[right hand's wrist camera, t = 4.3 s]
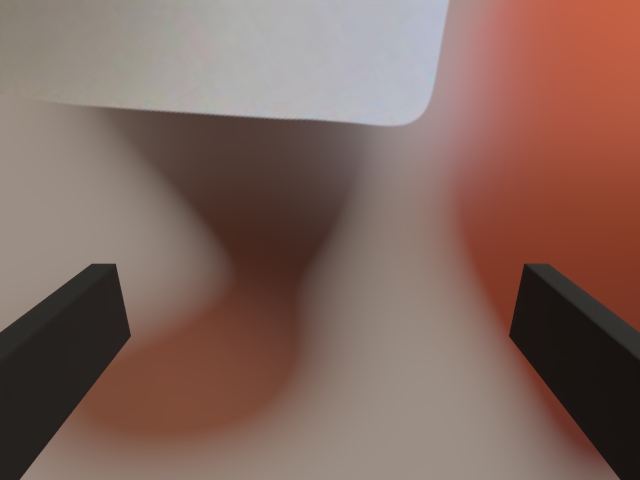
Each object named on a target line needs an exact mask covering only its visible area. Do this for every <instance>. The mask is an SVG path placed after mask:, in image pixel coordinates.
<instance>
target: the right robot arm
mask: <svg viewBox="0 0 640 480" xmlns="http://www.w3.org/2000/svg"><path fill="white" fill-rule="evenodd" d="M130 337H131V334H130V329H129V325H128V320H127V315H126V310H125V306H124V301H123V296H122V291H121V287H120V282H119V277H118V272H117V268H116V264H91V265H90V266H88V267H87V268H86V269H84V270H83V271H82V272H80V273H79V274H78V275H76V276H75V277H74V278H72V279H71V280H70V281H68V282H67V283H66V284H64V285H63V286H62V287H60V288H59V289H58V290H56V291H55V292H54V293H52V294H51V295H50V296H48V297H47V298H46V299H44V300H43V301H42V302H40V303H39V304H38V305H36V306H35V307H34V308H32V309H31V310H30V311H28V312H27V313H26V314H24V315H23V316H22V317H20V318H19V319H18V320H16V321H15V322H14V323H12V324H11V325H10V326H8V327H7V328H6V329H4V330H3V331H2V332H0V480H20V478H21V477H22V476H23V474H24V473H25V472H26V471H27V469H28V468H29V467H30V466H31V464H32V463H33V462H34V460H35V459H36V458H37V456H38V455H39V454H40V453H41V451H42V450H43V449H44V448H45V446H46V445H47V444H48V442H49V441H50V440H51V439H52V437H53V436H54V435H55V433H56V432H57V431H58V429H59V428H60V427H61V426H62V424H63V423H64V422H65V420H66V419H67V418H68V416H69V415H70V414H71V413H72V411H73V410H74V409H75V408H76V406H77V405H78V404H79V402H80V401H81V400H82V399H83V397H84V396H85V395H86V393H87V392H88V391H89V389H90V388H91V387H92V386H93V384H94V383H95V382H96V380H97V379H98V378H99V377H100V375H101V374H102V373H103V371H104V370H105V369H106V368H107V366H108V365H109V364H110V362H111V361H112V360H113V359H114V357H115V356H116V355H117V353H118V352H119V351H120V350H121V348H122V347H123V346H124V344H125V343H126V342H127V340H128V339H129V338H130ZM509 337H510V338H511V339H512V341H513V342H514V343H515V344H516V346H517V347H518V348H519V350H520V351H521V352H522V353H523V355H524V356H525V357H526V359H527V360H528V361H529V362H530V364H531V365H532V366H533V368H534V369H535V370H536V371H537V373H538V374H539V375H540V377H541V378H542V379H543V380H544V382H545V383H546V384H547V386H548V387H549V388H550V390H551V391H552V392H553V393H554V395H555V396H556V397H557V399H558V400H559V401H560V402H561V404H562V405H563V406H564V408H565V409H566V410H567V411H568V413H569V414H570V415H571V417H572V418H573V419H574V420H575V422H576V423H577V424H578V426H579V427H580V428H581V429H582V431H583V432H584V433H585V435H586V436H587V437H588V439H589V440H590V441H591V442H592V444H593V445H594V446H595V448H596V449H597V450H598V451H599V453H600V454H601V455H602V457H603V458H604V459H605V460H606V462H607V463H608V464H609V466H610V467H611V468H612V469H613V471H614V472H615V473H616V475H617V476H618V477H619V478H620V480H640V332H638V331H637V330H636V329H634V328H633V327H632V326H630V325H629V324H628V323H626V322H625V321H624V320H622V319H621V318H620V317H618V316H617V315H616V314H614V313H613V312H612V311H610V310H609V309H608V308H606V307H605V306H604V305H602V304H601V303H600V302H598V301H597V300H596V299H594V298H593V297H592V296H590V295H589V294H588V293H586V292H585V291H584V290H582V289H581V288H580V287H578V286H577V285H576V284H574V283H573V282H572V281H570V280H569V279H568V278H566V277H565V276H564V275H562V274H561V273H560V272H558V271H557V270H556V269H554V268H553V267H552V266H550V265H549V264H524V268H523V273H522V277H521V282H520V287H519V291H518V296H517V301H516V306H515V310H514V315H513V320H512V325H511V329H510V334H509Z"/></svg>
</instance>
